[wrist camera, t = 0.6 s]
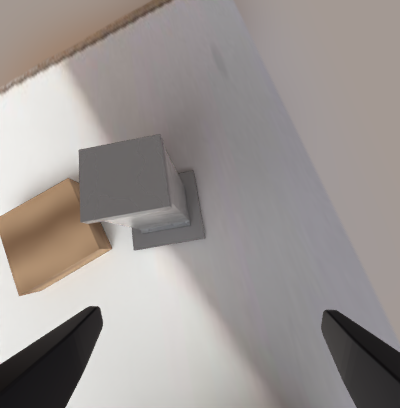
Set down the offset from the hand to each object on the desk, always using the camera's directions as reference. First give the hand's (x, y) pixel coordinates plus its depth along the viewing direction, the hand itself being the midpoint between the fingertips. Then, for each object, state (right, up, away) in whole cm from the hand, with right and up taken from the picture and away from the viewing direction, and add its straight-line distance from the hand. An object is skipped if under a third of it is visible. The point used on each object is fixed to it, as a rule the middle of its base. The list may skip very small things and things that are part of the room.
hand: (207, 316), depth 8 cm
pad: (-4, +4, +15) cm, 16 cm away
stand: (-17, +1, +15) cm, 22 cm away
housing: (-4, +4, +14) cm, 15 cm away
